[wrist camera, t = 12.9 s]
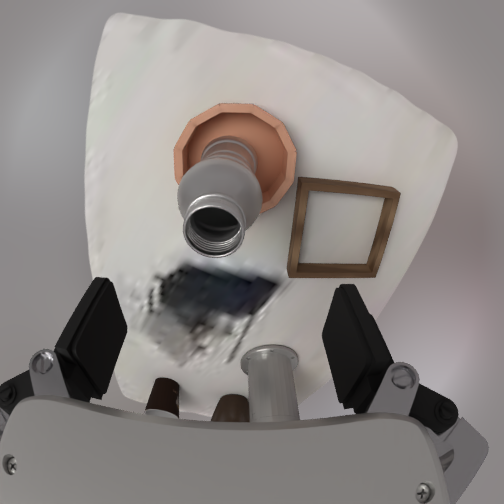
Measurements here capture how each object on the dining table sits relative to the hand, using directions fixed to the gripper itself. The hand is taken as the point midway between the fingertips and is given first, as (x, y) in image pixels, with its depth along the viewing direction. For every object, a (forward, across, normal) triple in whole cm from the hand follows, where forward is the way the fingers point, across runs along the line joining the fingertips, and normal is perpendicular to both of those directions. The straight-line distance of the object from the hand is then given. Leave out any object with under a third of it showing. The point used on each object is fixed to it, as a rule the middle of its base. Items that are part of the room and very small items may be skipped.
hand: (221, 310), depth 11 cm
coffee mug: (+28, +18, +56) cm, 65 cm away
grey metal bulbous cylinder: (+26, +1, -1) cm, 26 cm away
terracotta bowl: (+27, 0, -1) cm, 27 cm away
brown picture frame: (+27, -16, +9) cm, 33 cm away
